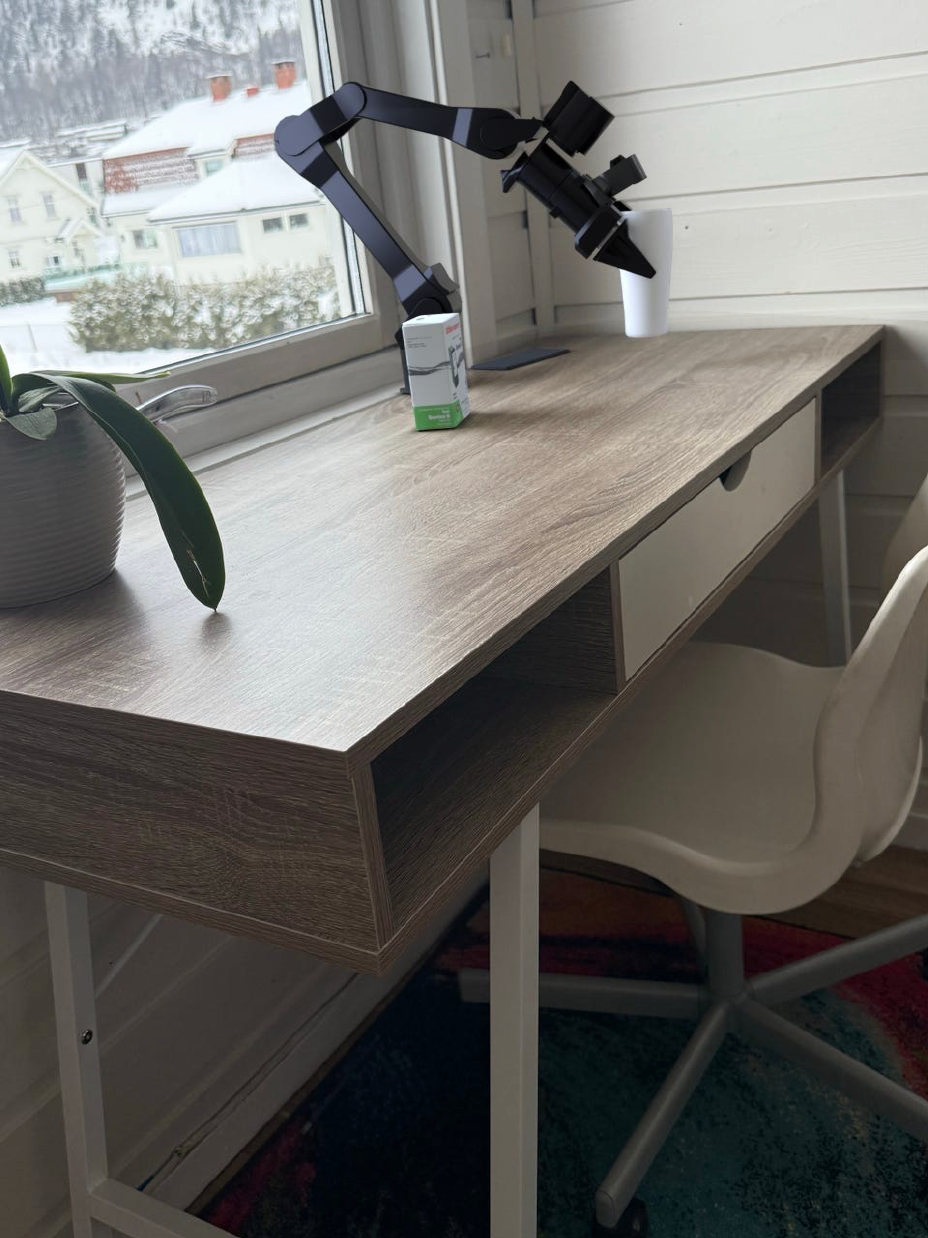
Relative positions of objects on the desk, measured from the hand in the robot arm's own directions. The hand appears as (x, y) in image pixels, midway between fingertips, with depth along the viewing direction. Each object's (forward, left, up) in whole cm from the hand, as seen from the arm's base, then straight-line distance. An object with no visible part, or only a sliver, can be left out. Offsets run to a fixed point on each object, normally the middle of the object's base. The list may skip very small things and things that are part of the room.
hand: (655, 272), depth 142 cm
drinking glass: (-1, +1, -8) cm, 8 cm away
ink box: (-32, +1, -12) cm, 34 cm away
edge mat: (-2, +29, -12) cm, 31 cm away
